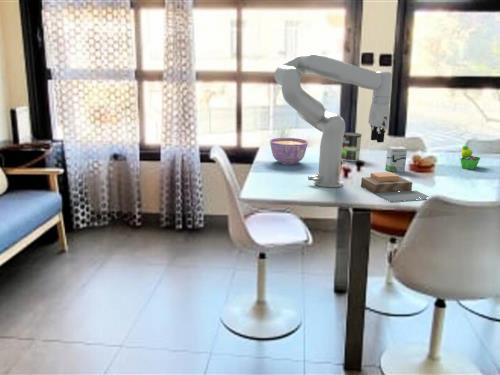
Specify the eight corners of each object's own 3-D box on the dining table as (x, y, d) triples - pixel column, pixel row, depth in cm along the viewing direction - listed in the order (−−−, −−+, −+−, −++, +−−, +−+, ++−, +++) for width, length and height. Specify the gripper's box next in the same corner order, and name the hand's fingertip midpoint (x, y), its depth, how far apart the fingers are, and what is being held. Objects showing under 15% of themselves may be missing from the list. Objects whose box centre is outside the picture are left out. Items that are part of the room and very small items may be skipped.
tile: (378, 181, 225) (378, 176, 224) (370, 177, 231) (370, 173, 231) (398, 180, 227) (399, 175, 227) (390, 176, 234) (390, 172, 233)
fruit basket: (473, 170, 267) (476, 149, 264) (456, 167, 272) (459, 146, 269) (479, 166, 275) (482, 145, 272) (462, 164, 281) (465, 143, 278)
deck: (374, 193, 220) (375, 184, 219) (360, 186, 232) (361, 177, 230) (411, 191, 225) (412, 182, 224) (396, 184, 237) (397, 175, 235)
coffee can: (347, 162, 279) (349, 136, 275) (336, 158, 288) (338, 132, 284) (363, 160, 283) (365, 135, 279) (352, 156, 292) (354, 131, 288)
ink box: (389, 171, 259) (391, 148, 256) (384, 169, 264) (387, 146, 261) (405, 171, 261) (407, 148, 258) (400, 169, 266) (403, 146, 263)
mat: (390, 202, 209) (390, 201, 209) (375, 193, 220) (375, 193, 220) (432, 199, 215) (433, 198, 214) (416, 191, 226) (416, 190, 225)
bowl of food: (308, 167, 263) (309, 145, 260) (269, 166, 264) (270, 144, 261) (305, 159, 283) (306, 138, 280) (268, 158, 283) (269, 137, 280)
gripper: (363, 98, 235) (360, 138, 240) (383, 102, 220) (379, 145, 225) (378, 98, 237) (375, 137, 242) (398, 102, 222) (394, 144, 227)
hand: (377, 140), depth 233 cm, fingers open, 4 cm apart
